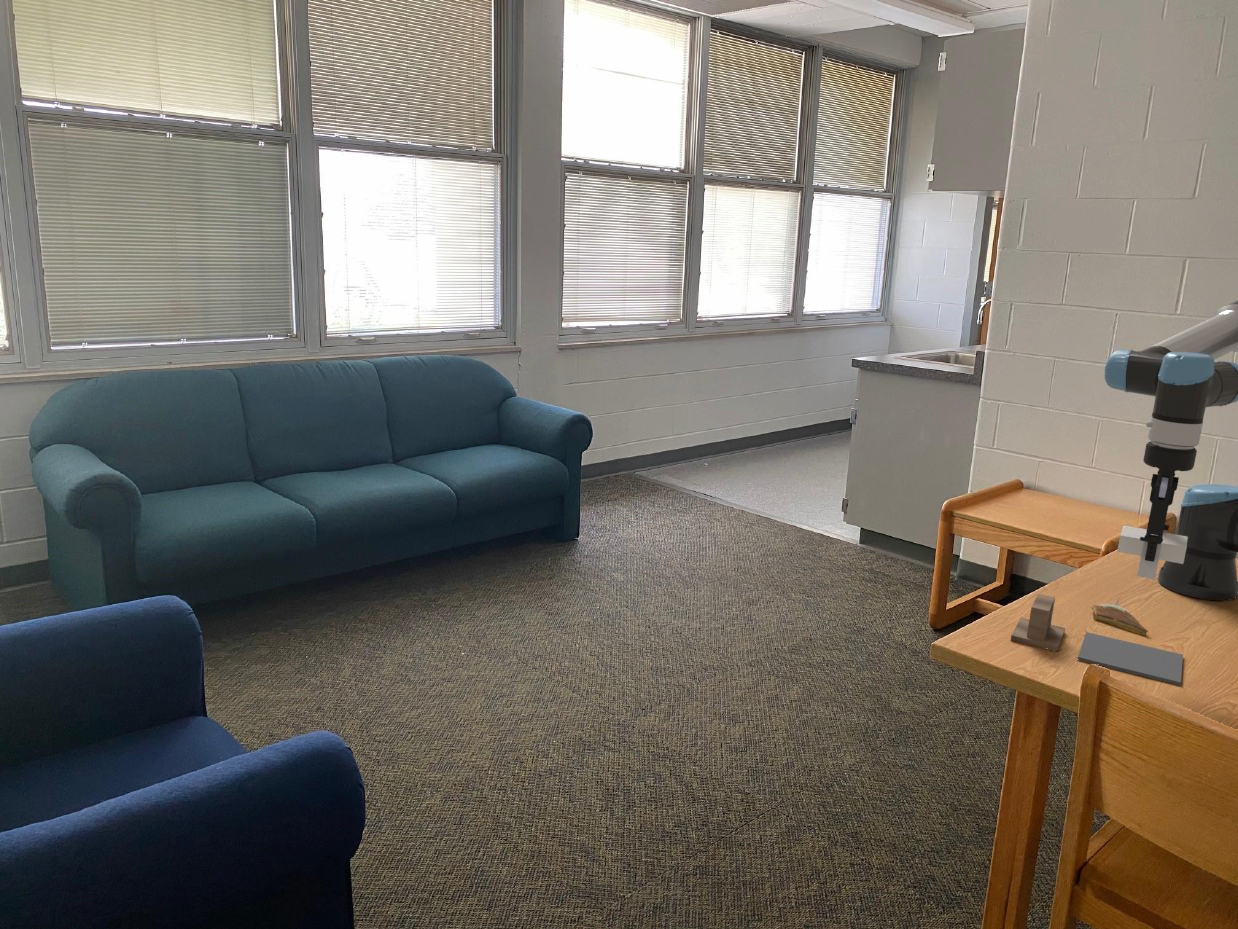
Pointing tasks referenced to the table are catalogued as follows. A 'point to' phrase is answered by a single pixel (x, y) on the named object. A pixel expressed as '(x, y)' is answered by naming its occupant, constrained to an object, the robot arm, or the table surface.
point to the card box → (1170, 548)
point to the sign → (1114, 605)
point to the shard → (1118, 618)
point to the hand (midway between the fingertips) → (1147, 570)
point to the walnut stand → (1039, 626)
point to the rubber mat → (1132, 658)
